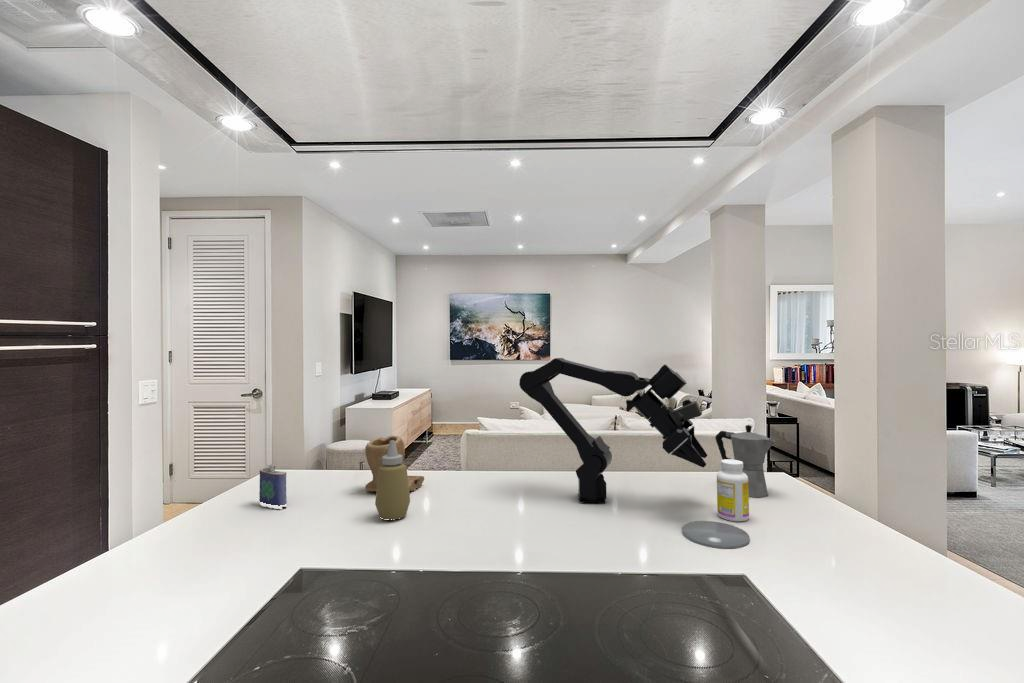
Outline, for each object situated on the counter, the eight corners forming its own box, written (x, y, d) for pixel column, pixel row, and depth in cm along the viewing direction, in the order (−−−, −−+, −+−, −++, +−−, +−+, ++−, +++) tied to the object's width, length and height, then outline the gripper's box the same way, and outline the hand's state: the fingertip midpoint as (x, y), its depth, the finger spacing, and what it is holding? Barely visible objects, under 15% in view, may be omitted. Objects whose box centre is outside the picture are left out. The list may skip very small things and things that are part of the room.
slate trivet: (693, 548, 94) (693, 545, 94) (674, 523, 107) (674, 520, 107) (761, 548, 93) (761, 545, 93) (733, 523, 106) (733, 520, 106)
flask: (289, 507, 120) (288, 465, 120) (278, 511, 118) (277, 467, 118) (266, 502, 125) (265, 461, 125) (255, 505, 122) (254, 463, 122)
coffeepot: (782, 493, 127) (781, 425, 127) (770, 502, 120) (769, 430, 120) (723, 482, 138) (722, 419, 138) (709, 489, 131) (708, 423, 131)
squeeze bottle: (367, 520, 110) (367, 442, 111) (389, 509, 118) (388, 436, 118) (397, 525, 107) (396, 445, 107) (417, 513, 115) (416, 438, 115)
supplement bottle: (742, 512, 113) (741, 458, 113) (753, 523, 107) (753, 465, 107) (713, 511, 114) (712, 457, 114) (722, 522, 107) (722, 464, 107)
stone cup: (357, 497, 128) (356, 441, 128) (374, 484, 140) (373, 432, 140) (412, 498, 126) (412, 441, 126) (425, 484, 138) (424, 433, 138)
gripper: (677, 393, 106) (732, 447, 102) (683, 386, 123) (730, 431, 119) (641, 427, 109) (693, 480, 105) (652, 415, 127) (697, 460, 122)
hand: (705, 461), depth 113 cm, fingers open, 9 cm apart
